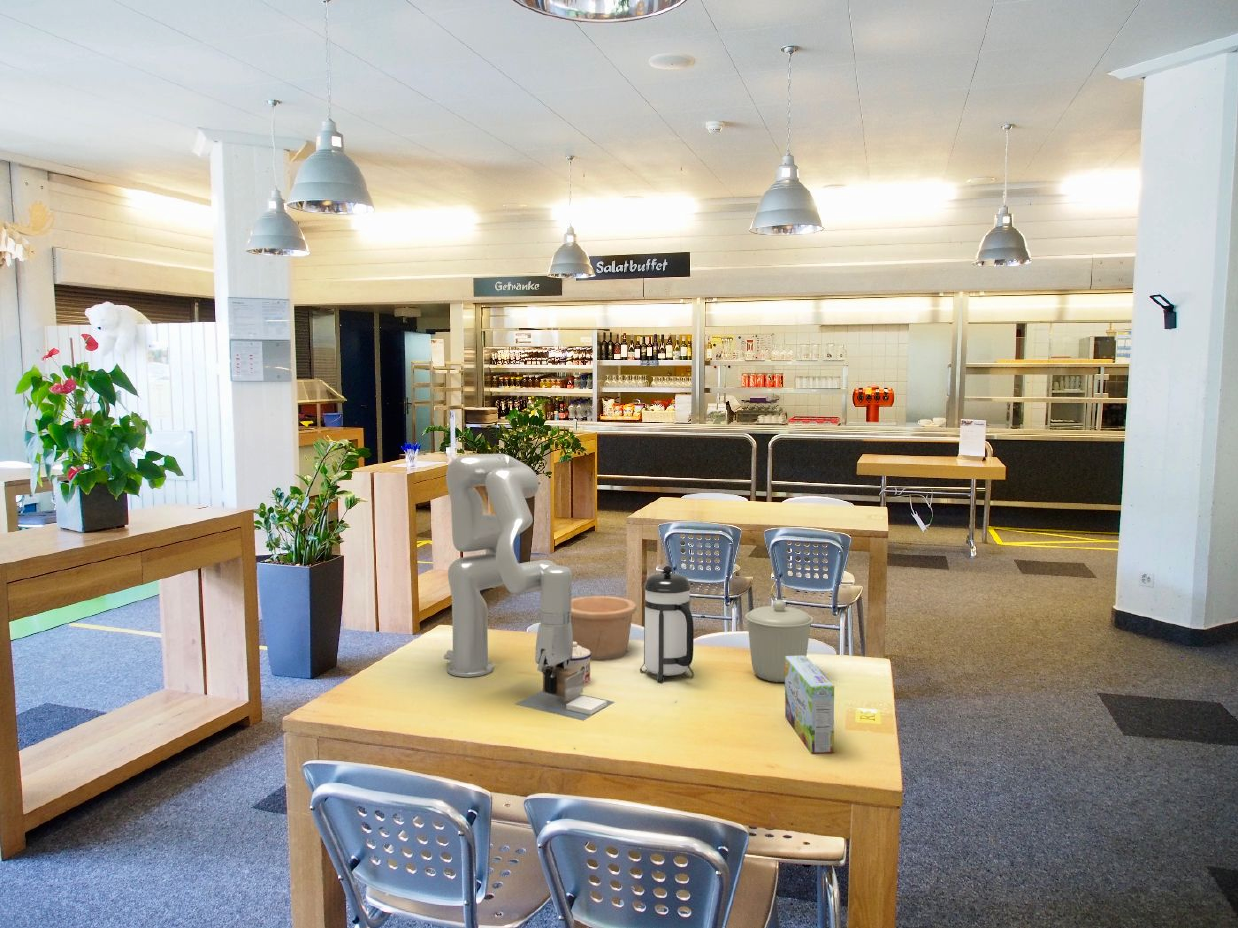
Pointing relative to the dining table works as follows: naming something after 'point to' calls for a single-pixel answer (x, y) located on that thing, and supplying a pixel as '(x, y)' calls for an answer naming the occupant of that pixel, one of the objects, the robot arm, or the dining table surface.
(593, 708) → the tile
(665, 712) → the dining table surface
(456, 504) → the robot arm
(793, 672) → the snack box
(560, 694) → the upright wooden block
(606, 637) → the pottery
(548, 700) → the slate board
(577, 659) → the teacup with lid
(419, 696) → the dining table surface
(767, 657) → the canister
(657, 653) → the coffee press
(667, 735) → the dining table surface
